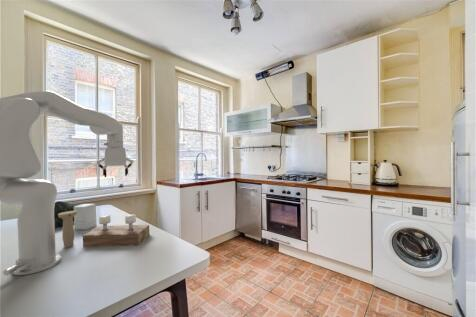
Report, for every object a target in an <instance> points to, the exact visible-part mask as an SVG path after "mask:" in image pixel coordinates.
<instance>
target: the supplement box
mask: <svg viewBox="0 0 476 317" xmlns="http://www.w3.org/2000/svg"><path fill="white" fill-rule="evenodd" d="M74 206H75V207H74V211H77V214H76V215H75V216H74V222H73V227H74V230H88V229H91V228H94V227H96V226H97V225H98V224H97V205H96V203H83V204H82V203H81V204H78V205H74Z"/></svg>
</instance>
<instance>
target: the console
mask: <svg viewBox="0 0 476 317" xmlns="http://www.w3.org/2000/svg"><path fill="white" fill-rule="evenodd" d="M148 235H149V236H150V224H133V230H130V231H129V224H128V225H127V224H126V225H124V224H122V225H119V224H118V225H107V231H103V225H99V226H98V227H96V228H94V229H92V230H90V231H89V232H87V233H84V234H82V247H83V248H84V247H86V248H87V247H89V248H90V247H91V248H92V247H121V246H122V247H129V246H128V245H134V246H139V245H140V244H141V243H142V242H144V240H146V239H147V238H148V237H149V236H148Z"/></svg>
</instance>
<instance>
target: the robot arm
mask: <svg viewBox="0 0 476 317" xmlns="http://www.w3.org/2000/svg"><path fill="white" fill-rule="evenodd" d="M42 114H48V115H52V116H53V117H55V118H59V119H61V120H63V121H66V122H68V123H70V124H73V125H79V126H86V127H89V130H90V131H91V132H92V133H93V134H95V135H99V136H101V135H102V136H104V135H105V136H106V142H104V143H103V146H105V148H104V149H105V150H104V158H101V159H99V160H97V161H96V164H97V165H98V167H99V168H100V169H102V175H103V176H104V178H107V167H112V166H113V167H118V166H119V167H120V166H122V167H123V166H124V175H125V177H127V176H128V175H129V169H130V168H131V167H132V166H133V165H132V164H134V160H133V159H130V158H127V151H126V149H125V148H126V147H124V128H123V127H124V126H123V124H122V122H120V121H119V120H118V119H117V118H114V117H113V116H111V115H109V114H107V113H105V112H102V111H98V110H94V109H92V108H88V107H85V106H82V105H79V104H78V103H76V102H74V101H72V100H70V99H69V98H66V97H64V95H61V94H58V93H57V92H55V91H50V90H38V91H29V92H22V93H19V94H15V95H10V96H3V97H0V202H1V203H3V204H5V205H8V206H9V205H10V206H21V208H20V211H19V213H18V216H17V223H16V225H17V238H18V240H17V241H18V242H17V243H18V244H17V245H18V259H16V260H15V264H13V266H12V265H11V266H10V267H8V268H6V269H4V270H3V272H2V273H3V275H4V276H9V275H12V274H13V275H15V276H27V275H32V274H37V273H40V272H42V271H45V270H48V269H50V268H52V267H54V266H56V265H58V264H59V263H60V262H61V261H62V255H60V254H57V253H56V251H57V250H56V230H55V229H56V227H55V221H54V207H55V203H56V202H57V201H56V200H57V196H58V190H57V187H56V185H55V184H54V183H53V182H52V181H49V180H47V179H42V178H40V179H39V178H33V177H35V176H37V175H38V174H39V173H40V172H41V170H42V165H41V161H40V158H39V156H38V154H37V152H36V149H35V147H34V144H33V142H32V140H31V136H30V131H31V128H32V126H33V124H34V123H35V122H37V121H38V118H39V117H40V115H42ZM127 161H128V162H129V164H128V165H127ZM102 162H104V166H103V164H102ZM27 178H28V179H27Z"/></svg>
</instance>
